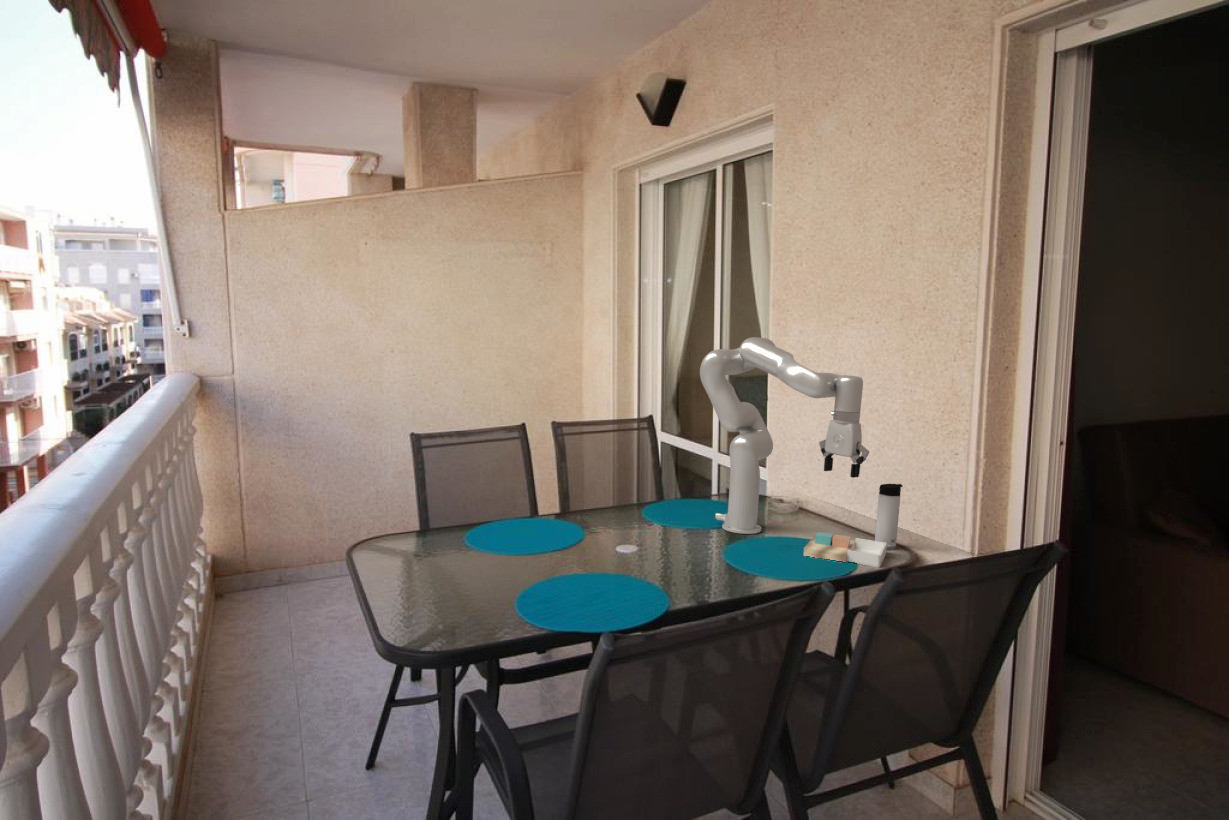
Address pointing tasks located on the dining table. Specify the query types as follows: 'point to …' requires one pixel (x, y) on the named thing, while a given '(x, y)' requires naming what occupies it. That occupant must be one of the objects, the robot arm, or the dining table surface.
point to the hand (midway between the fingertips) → (840, 473)
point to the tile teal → (823, 538)
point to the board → (827, 551)
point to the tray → (867, 552)
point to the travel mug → (888, 514)
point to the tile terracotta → (841, 541)
